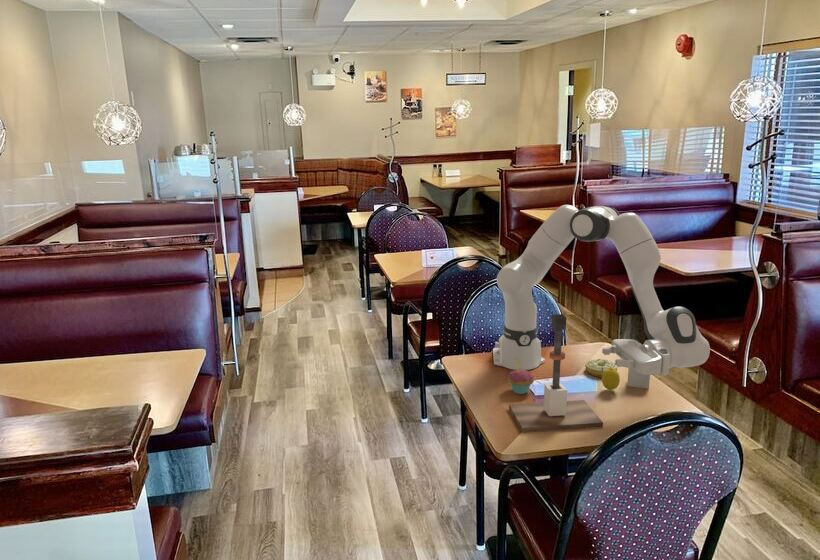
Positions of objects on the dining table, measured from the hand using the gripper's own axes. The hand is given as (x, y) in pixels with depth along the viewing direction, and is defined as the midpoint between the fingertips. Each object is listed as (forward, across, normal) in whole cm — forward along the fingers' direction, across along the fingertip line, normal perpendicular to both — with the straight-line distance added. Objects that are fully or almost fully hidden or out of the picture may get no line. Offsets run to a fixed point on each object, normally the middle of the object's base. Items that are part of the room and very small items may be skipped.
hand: (609, 357), depth 187 cm
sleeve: (+16, 0, +17) cm, 23 cm away
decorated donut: (-11, -31, +19) cm, 38 cm away
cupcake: (+21, -20, +19) cm, 35 cm away
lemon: (-8, -16, +19) cm, 26 cm away
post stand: (+16, 0, +18) cm, 24 cm away
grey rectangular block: (-19, -19, +19) cm, 33 cm away
